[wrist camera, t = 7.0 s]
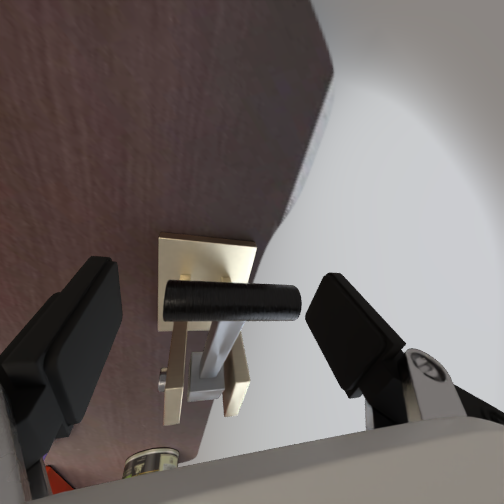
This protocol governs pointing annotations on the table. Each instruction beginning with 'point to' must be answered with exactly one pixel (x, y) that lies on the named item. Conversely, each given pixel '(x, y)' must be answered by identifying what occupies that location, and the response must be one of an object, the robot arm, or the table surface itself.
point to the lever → (223, 322)
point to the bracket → (201, 269)
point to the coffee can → (150, 462)
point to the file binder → (57, 482)
